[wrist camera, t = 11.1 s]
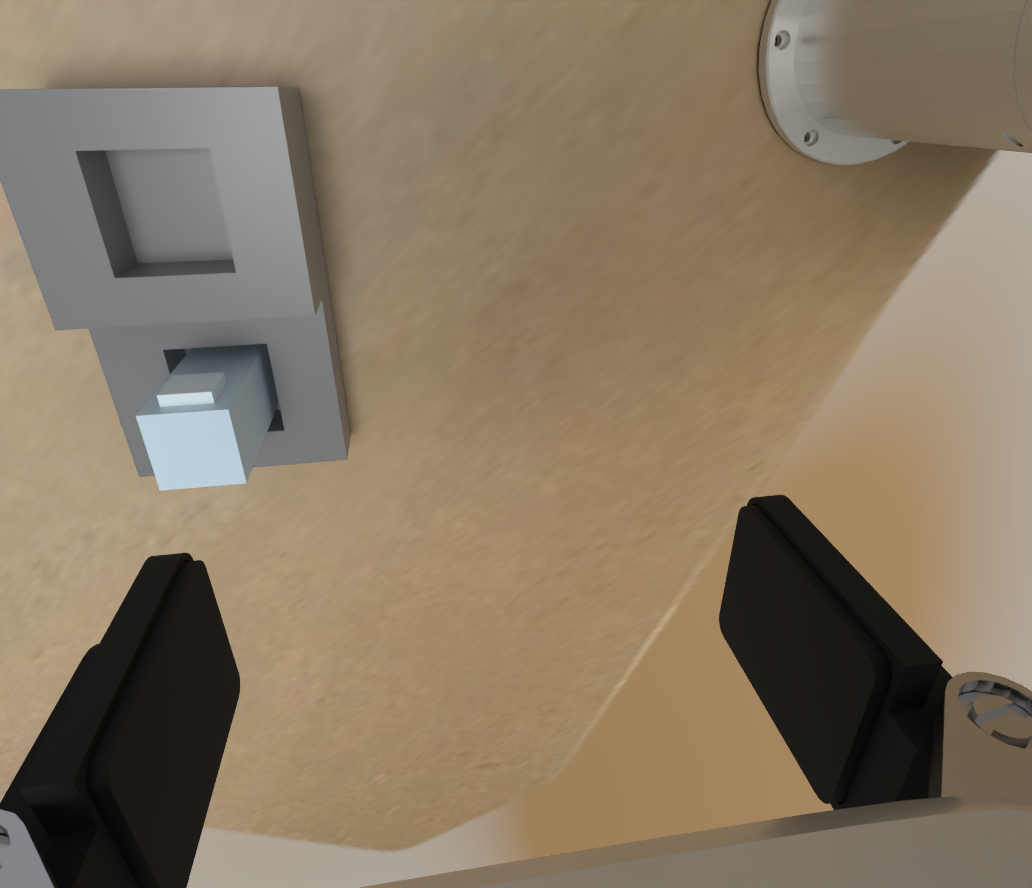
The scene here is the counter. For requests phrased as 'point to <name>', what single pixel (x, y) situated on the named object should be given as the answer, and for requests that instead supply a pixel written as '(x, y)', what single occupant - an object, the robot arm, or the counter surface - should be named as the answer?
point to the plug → (210, 417)
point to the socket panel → (181, 242)
